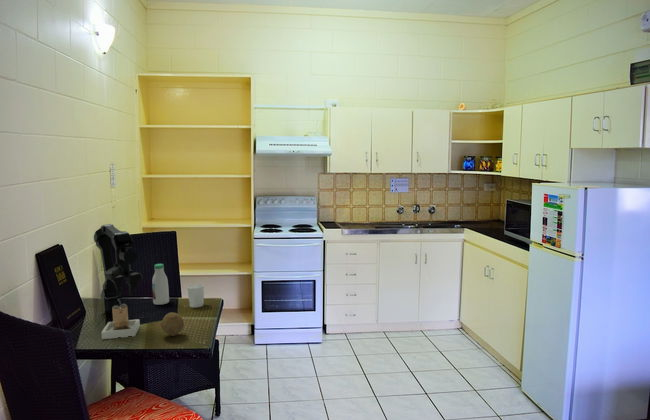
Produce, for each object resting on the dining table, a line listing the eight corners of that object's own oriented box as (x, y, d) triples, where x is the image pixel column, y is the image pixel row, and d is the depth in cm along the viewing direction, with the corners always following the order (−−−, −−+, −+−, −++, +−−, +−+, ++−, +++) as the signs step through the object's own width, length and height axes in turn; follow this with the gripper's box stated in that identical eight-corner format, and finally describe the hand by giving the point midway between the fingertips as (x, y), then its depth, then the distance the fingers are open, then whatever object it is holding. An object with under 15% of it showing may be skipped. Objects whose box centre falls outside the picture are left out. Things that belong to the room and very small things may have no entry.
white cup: (207, 303, 253) (206, 284, 251) (199, 308, 245) (197, 288, 244) (194, 302, 255) (193, 283, 254) (185, 307, 248) (184, 287, 247)
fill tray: (102, 339, 207) (101, 332, 207) (108, 328, 220) (108, 321, 220) (135, 336, 210) (134, 329, 210) (139, 325, 223) (139, 319, 222)
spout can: (113, 328, 216) (111, 304, 215) (127, 326, 219) (126, 302, 218) (115, 334, 209) (113, 309, 208) (130, 331, 212) (128, 306, 211)
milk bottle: (171, 300, 260) (169, 262, 257) (165, 305, 252) (163, 266, 250) (157, 300, 261) (154, 262, 258) (150, 305, 253) (148, 266, 251)
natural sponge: (156, 338, 207) (155, 315, 206) (170, 330, 215) (168, 308, 214) (175, 340, 204) (173, 317, 203) (188, 333, 212) (186, 310, 211)
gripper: (94, 261, 224) (96, 295, 225) (119, 265, 213) (122, 301, 215) (116, 256, 233) (118, 289, 235) (141, 260, 223) (144, 294, 224)
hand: (125, 293), depth 227 cm, fingers open, 9 cm apart
